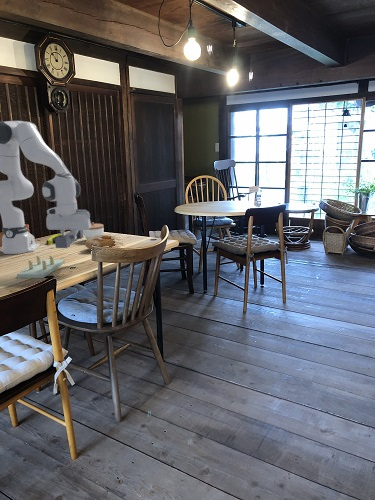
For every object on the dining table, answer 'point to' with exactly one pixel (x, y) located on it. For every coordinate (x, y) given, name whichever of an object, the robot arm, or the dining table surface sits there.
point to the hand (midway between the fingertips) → (70, 238)
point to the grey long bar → (68, 239)
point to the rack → (40, 268)
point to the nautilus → (101, 241)
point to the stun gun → (53, 239)
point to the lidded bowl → (94, 230)
